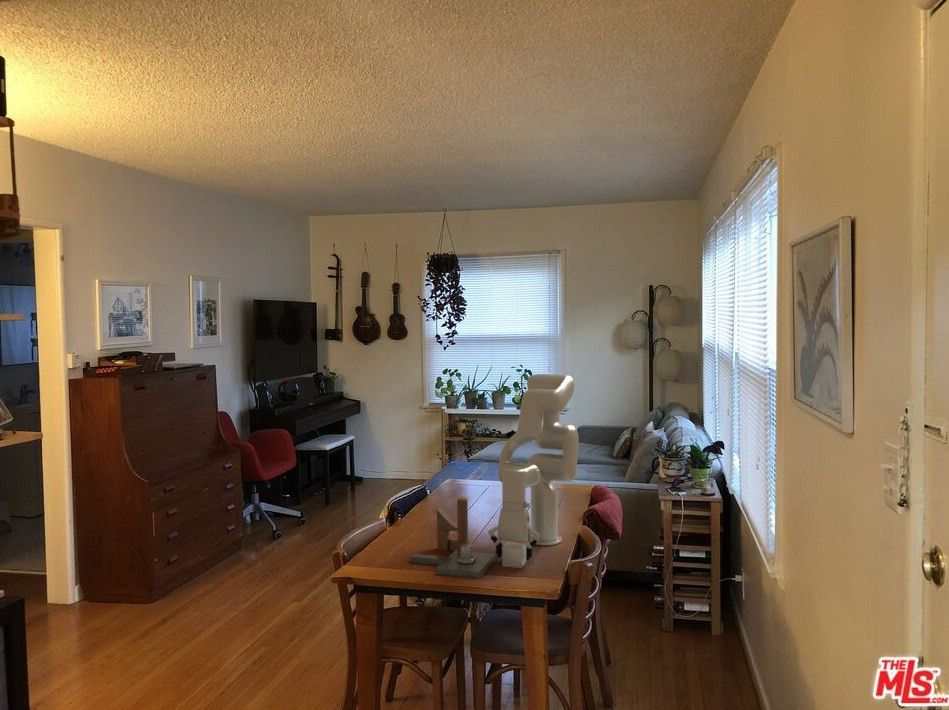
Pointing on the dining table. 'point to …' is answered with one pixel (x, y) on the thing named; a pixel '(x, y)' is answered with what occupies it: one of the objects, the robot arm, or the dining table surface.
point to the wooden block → (453, 527)
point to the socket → (514, 554)
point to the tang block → (459, 562)
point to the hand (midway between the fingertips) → (514, 558)
